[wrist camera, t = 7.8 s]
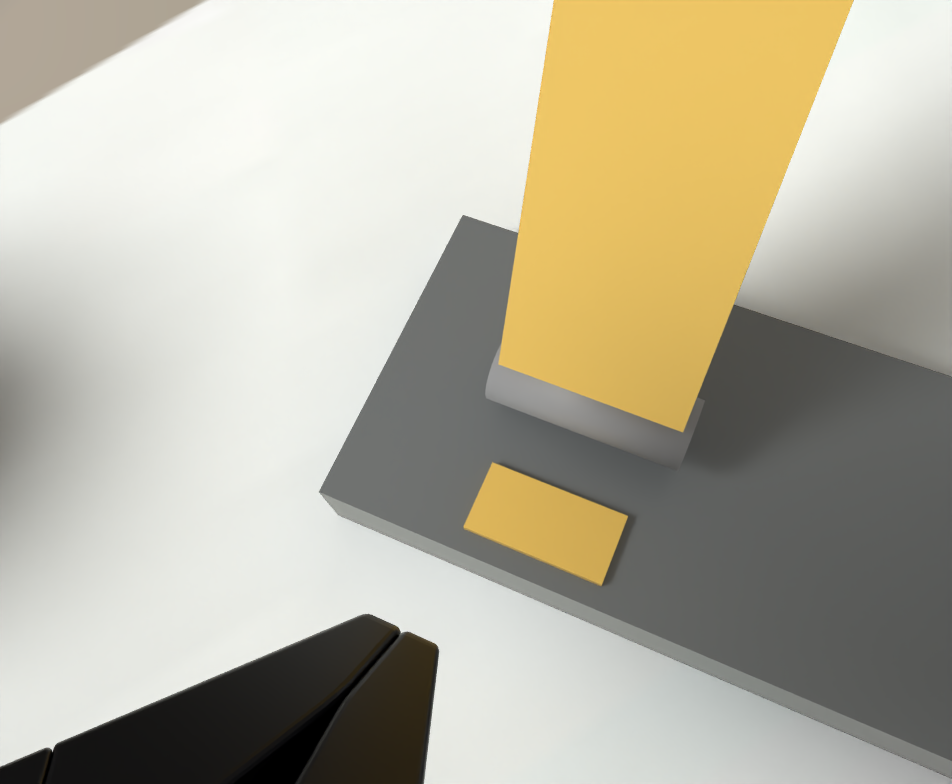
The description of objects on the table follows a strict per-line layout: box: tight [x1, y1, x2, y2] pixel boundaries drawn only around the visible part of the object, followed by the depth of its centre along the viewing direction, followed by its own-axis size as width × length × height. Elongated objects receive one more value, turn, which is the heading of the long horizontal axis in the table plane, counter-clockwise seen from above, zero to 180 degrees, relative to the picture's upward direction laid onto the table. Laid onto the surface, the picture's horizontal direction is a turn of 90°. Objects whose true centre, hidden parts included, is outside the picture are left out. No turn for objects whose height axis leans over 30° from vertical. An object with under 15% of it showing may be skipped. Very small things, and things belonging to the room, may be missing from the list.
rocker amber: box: [485, 0, 854, 471], centre depth 16 cm, size 2×4×11 cm, turn 66°
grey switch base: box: [319, 215, 952, 778], centre depth 20 cm, size 21×8×2 cm, turn 66°
